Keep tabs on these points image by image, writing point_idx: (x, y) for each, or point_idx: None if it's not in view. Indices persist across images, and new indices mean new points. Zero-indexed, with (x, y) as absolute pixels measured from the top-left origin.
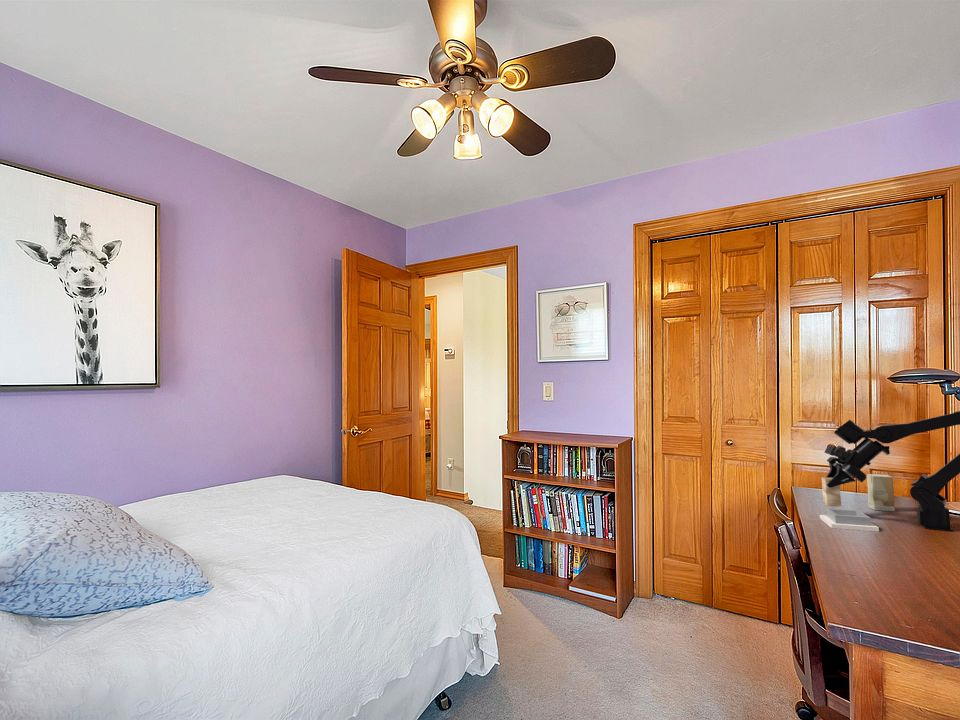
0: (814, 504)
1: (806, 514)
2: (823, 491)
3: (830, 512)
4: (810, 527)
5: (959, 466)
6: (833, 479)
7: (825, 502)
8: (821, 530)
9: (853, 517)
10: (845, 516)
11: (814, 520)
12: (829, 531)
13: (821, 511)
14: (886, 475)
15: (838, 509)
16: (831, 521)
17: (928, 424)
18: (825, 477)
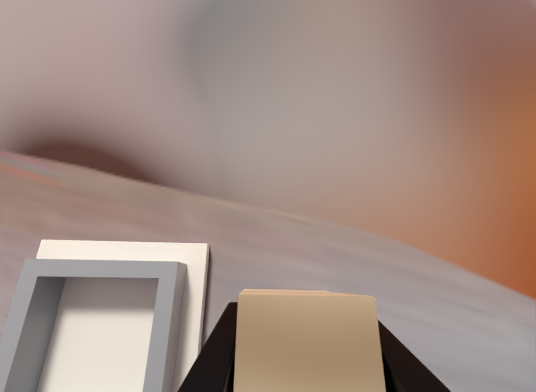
0: (473, 302)
1: (263, 213)
2: (305, 291)
3: (102, 260)
4: (60, 170)
5: None
6: (186, 382)
7: (270, 289)
8: (19, 194)
9: (1, 346)
10: (10, 306)
11: (169, 214)
12: (4, 217)
13: (340, 291)
14: None
15: (161, 321)
16: (88, 254)
17: None
18: (377, 340)
